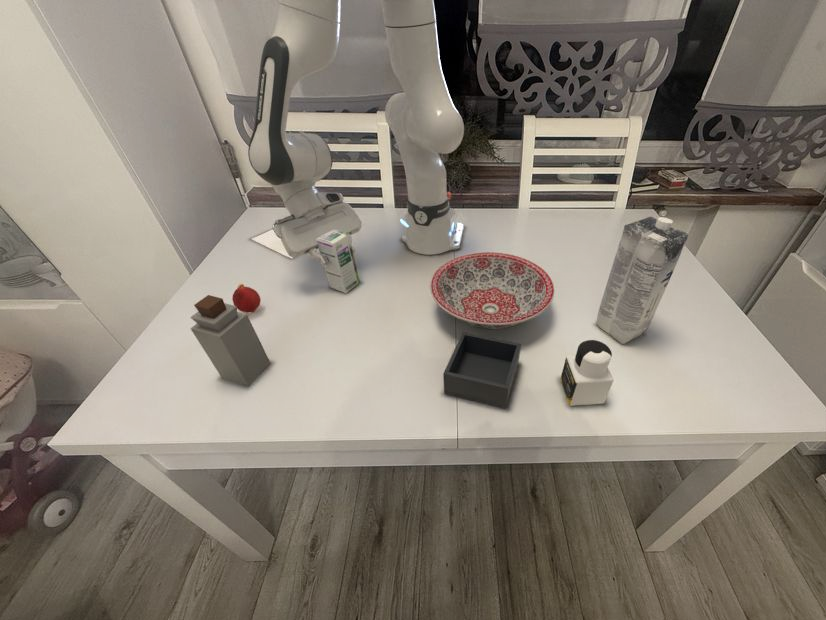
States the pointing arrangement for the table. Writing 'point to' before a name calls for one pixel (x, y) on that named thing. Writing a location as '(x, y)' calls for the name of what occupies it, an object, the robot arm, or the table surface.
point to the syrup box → (339, 260)
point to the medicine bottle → (587, 374)
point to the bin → (482, 369)
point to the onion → (246, 299)
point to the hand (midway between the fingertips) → (339, 258)
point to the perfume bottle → (229, 340)
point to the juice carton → (639, 276)
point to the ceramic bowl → (492, 289)
